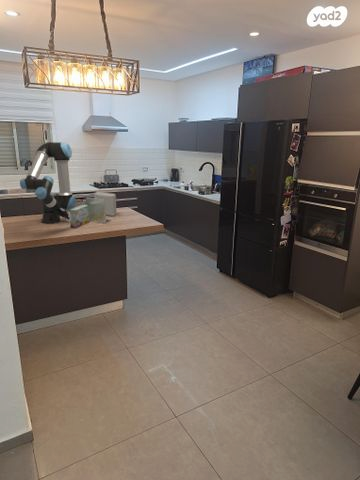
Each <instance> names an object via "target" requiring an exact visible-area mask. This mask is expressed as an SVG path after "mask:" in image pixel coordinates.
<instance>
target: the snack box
mask: <svg viewBox="0 0 360 480" xmlns="http://www.w3.org/2000/svg"><path fill="white" fill-rule="evenodd" d="M69 218H70V219H71V221H70V222H69V223H70V228H71V229H78V228H80V227H81V226H84V225H86V224H88V223H90V221H89V214H88V205H86V204H81V205H78V206H75V207H74V208H73V209H70V210H69Z"/></svg>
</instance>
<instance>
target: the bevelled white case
mask: <svg viewBox="0 0 360 480" xmlns="http://www.w3.org/2000/svg"><path fill="white" fill-rule="evenodd" d="M93 198H97V199H105V216H107V217H115V216H117V194H116V193H108V192H101V191H97V192H94V193H93Z"/></svg>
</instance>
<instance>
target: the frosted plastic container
mask: <svg viewBox="0 0 360 480" xmlns="http://www.w3.org/2000/svg"><path fill="white" fill-rule="evenodd" d="M85 205H88V214H89V222H94V223H101V224H105V223H108V222H111V219H108V218H106V216H107V215H105V199H97V198H94V197H85Z"/></svg>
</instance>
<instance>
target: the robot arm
mask: <svg viewBox="0 0 360 480" xmlns="http://www.w3.org/2000/svg"><path fill="white" fill-rule="evenodd" d="M72 154H73V153H72V149H71V146H70V144H69V143H68V142H61V141H60V142H57V141H56V142H54V141H51V142H50V141H49V142H48V141H47V142H45V143H43V144H41V145H40V146H39V147H38V148H37V149H36V152H35V153H34V155H35V157H34V159H33V161H32V164H31V165H30V169H29V170H28V172H27V175H26V177H25V178H21V179H20V180H19V185H20V189H22V190H27V191H28V190H32V191H33V190H35V192H34V195H35V196H36V197H37V199H38V200H40V202H41V205H42V206H41V207H42V216H41V217H42V218H41V223H42V224H46V225H47V224H49V225H50V224H57V223H60V222H61V221H62V219H61V218H63V219H65V220H66V222H67V223H71V222H70V221H71V219H70V213H68V211H70V209H73V208H75V207H76V202H77V201H76V199H77V198H76V196H75V195H74V194H73V193H72V191H71V183H70V171H69V161H70V159H71V158H72V156H73V155H72ZM49 158H53V160H54V161H55V162H56V170H57V171H56V172H57V181H58V190H59V192H58V193H57V194H56V193H52V189H53V186H54V178H53V177H52V176H50V175H44V176H43V177H42V178H39V177H40V174H41V172H42V170H43V169H44V168H43V167H44V166H45V163H46V161H48V159H49Z"/></svg>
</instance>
